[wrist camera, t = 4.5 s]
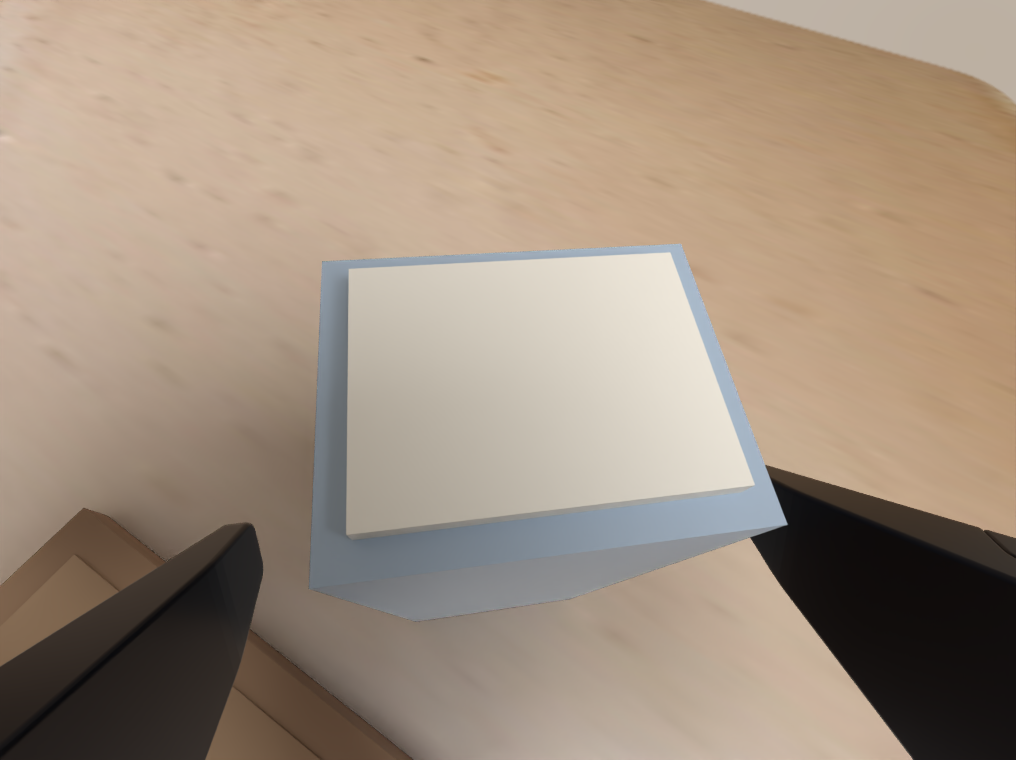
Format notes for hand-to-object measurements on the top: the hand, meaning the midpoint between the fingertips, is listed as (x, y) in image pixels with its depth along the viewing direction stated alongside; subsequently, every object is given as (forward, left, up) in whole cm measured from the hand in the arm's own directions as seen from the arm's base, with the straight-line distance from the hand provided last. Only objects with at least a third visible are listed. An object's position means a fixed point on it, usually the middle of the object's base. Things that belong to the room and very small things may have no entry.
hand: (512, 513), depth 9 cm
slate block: (+1, 0, -8) cm, 9 cm away
